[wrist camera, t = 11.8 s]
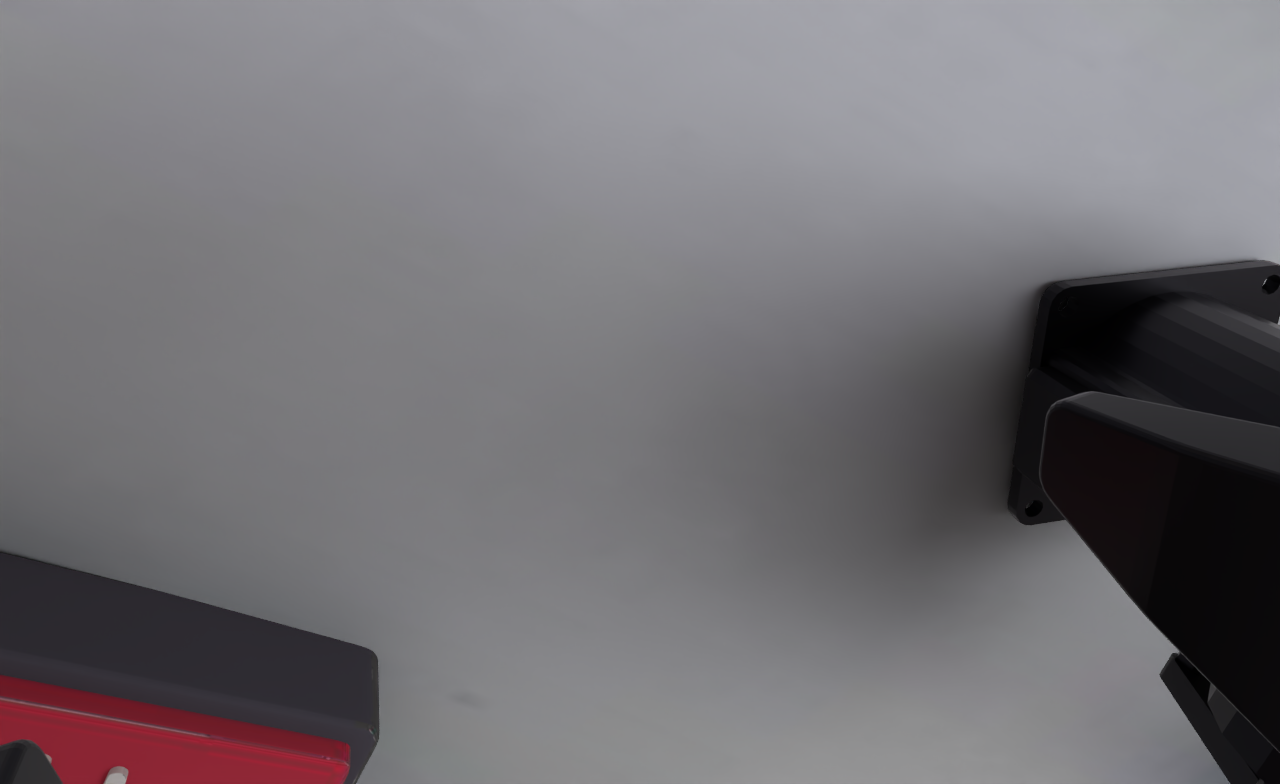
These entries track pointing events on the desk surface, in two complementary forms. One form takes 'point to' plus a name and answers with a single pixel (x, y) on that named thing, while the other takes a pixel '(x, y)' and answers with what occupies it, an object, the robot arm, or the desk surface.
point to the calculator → (175, 686)
